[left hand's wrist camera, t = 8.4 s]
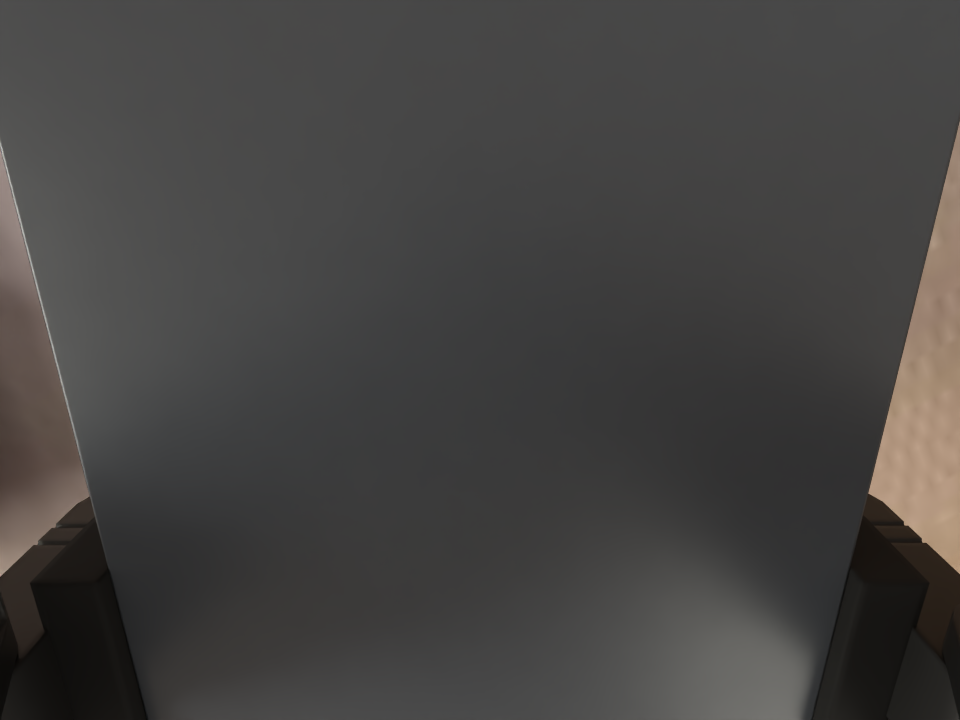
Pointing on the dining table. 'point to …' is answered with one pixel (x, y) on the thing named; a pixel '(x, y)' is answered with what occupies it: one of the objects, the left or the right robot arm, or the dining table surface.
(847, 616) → the left robot arm
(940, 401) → the dining table surface
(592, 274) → the wide beam
